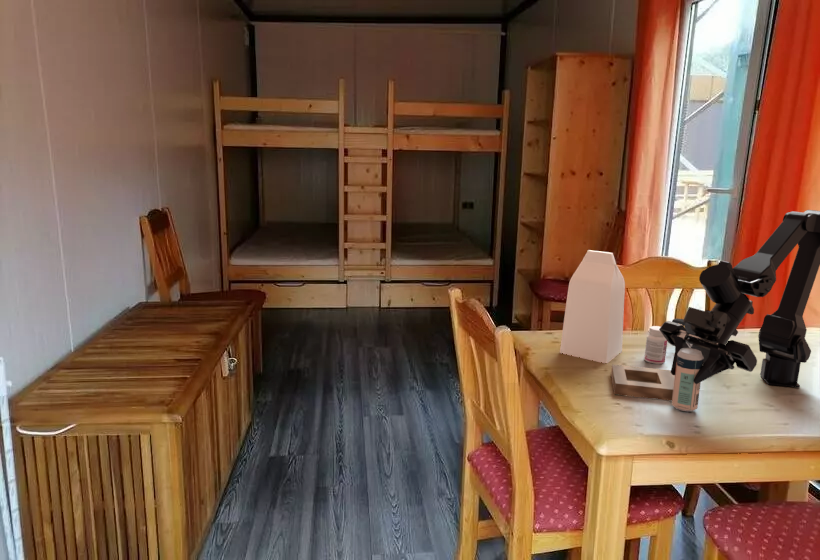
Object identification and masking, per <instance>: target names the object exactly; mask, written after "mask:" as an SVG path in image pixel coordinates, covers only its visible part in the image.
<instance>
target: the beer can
mask: <svg viewBox="0 0 820 560" xmlns="http://www.w3.org/2000/svg"><path fill="white" fill-rule="evenodd" d="M703 359H704V357H703V356H702V353H701V351H699V350H697V349H692V348H682V349H680V351H679V352H678V354H677V362H676V371H675V379H674V388H673V397H672V401H671V406H673V407H674V408H675V409H677V410H679V411H682V412H688V413H689V412H693V411H696V410H697V409H698V405H699V399H700V391H701V389H700V388H701V382H700V383H698V384H695V383H694V381H693V380H694V378H695V376H696V374H697V373H698V371H699V370H700V369H701V367H702V366H703Z"/></svg>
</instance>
